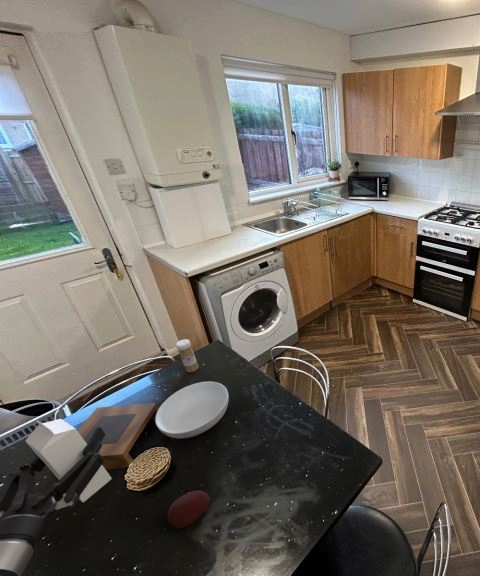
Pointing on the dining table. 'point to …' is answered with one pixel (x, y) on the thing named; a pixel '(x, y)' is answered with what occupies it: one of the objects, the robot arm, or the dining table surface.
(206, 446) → the dining table surface
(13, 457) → the dining table surface
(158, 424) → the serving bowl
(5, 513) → the robot arm
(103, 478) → the milk
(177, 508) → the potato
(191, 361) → the sprinkles bottle
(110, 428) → the wooden serving tray
